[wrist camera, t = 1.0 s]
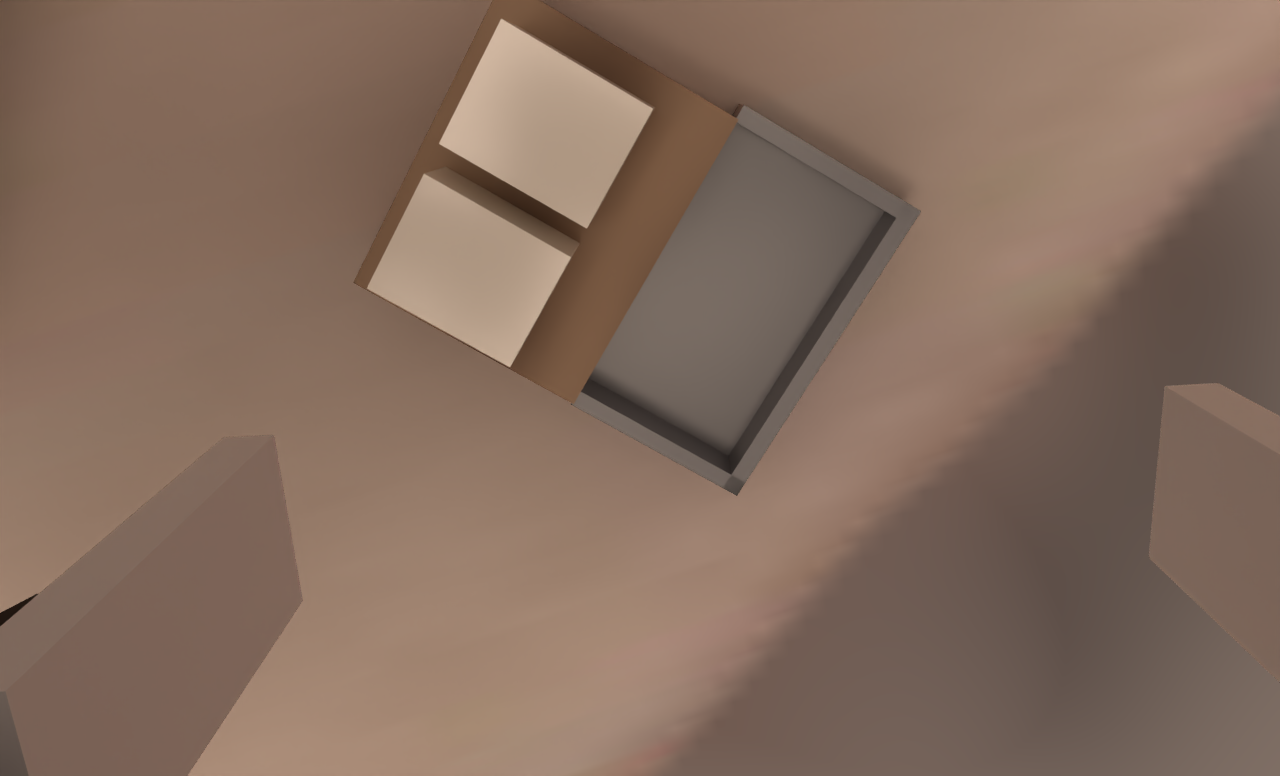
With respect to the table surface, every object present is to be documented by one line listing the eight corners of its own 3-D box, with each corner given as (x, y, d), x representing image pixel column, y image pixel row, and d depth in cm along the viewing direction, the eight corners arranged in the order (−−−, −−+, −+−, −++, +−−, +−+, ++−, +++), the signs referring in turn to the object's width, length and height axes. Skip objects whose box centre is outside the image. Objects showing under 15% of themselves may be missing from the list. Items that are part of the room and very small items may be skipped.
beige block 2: (392, 271, 34) (366, 288, 31) (445, 166, 33) (423, 173, 30) (523, 344, 35) (509, 367, 32) (579, 243, 34) (571, 257, 31)
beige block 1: (459, 139, 33) (438, 143, 30) (516, 25, 32) (501, 18, 29) (594, 216, 34) (586, 228, 31) (655, 107, 32) (653, 108, 30)
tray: (577, 384, 39) (570, 404, 37) (739, 104, 36) (744, 104, 34) (733, 470, 40) (737, 495, 38) (904, 203, 37) (921, 211, 35)
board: (385, 263, 38) (353, 282, 34) (521, -10, 35) (503, -22, 32) (583, 373, 39) (573, 404, 35) (731, 116, 36) (738, 119, 33)
